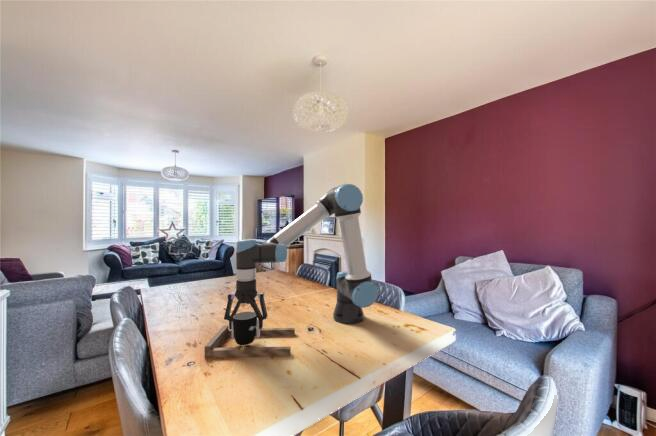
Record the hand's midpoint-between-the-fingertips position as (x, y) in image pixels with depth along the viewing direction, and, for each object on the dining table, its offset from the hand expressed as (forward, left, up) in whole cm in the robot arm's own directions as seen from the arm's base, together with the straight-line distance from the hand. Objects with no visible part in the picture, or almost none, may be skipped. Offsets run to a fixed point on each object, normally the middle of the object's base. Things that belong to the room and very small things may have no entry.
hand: (246, 337), depth 104 cm
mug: (0, 0, -1) cm, 1 cm away
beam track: (-3, 0, -3) cm, 4 cm away
